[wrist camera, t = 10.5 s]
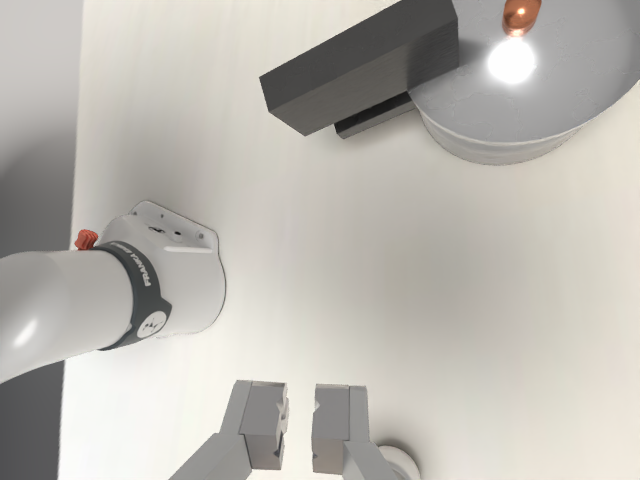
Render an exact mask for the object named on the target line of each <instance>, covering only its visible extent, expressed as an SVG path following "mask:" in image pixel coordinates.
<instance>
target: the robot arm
mask: <svg viewBox="0 0 640 480" xmlns="http://www.w3.org/2000/svg"><path fill="white" fill-rule="evenodd" d="M202 234H203V238H202ZM97 238H98V235H97V234H96V233H95V232H93V231H90V230H85V229H84V230H81V231H80V232H79V234H78V239H77V240H76V241H75V246H76V247H78V250H77V251H28V252H21V253H16V254H13V255H9V256H7V257H4V258H1V259H0V384H1V383H3V382H5V381H7V380H9V379H11V378H14V377H16V376H18V375H21V374H23V373H26V372H28V371H31V370H33V369H36V368H39V367H41V366H44V365H48V364H51V363H54V362H57V361H61V360H64V359H68V358H71V357H74V356H77V355H81V354H84V353H87V352H91V351H94V350H100V351H106V350H111V349H115V348H118V347H122V346H126V345H130V344H133V343H136V342H138V341H141V340H143V339H146V338H153V337H156V338H165V337H168V336H171V335H174V334H194V333H198V332H201V331H203V330H204V329H206V328H207V327H209V326H210V325H211V324H212V323H213V322H214V320H215V319H216V318H217V316H218V314H219V313H220V310H221V308H222V305H223V302H224V297H225V277H224V272H223V269H222V266H221V263H220V260H219V256H218V238H217V235H216V233H215V232H214V231H212V230H210V229H208V228H205V227H203V226H201V225H199V224H197V223H195V222H193V221H191V220H188V219H186V218H184V217H182V216H180V215H178V214H176V213H174V212H171V211H169V210H167V209H165V208H163V207H161V206H159V205H157V204H154V203H152V202H150V201H142V202H140V203H139V204H137V205H136V206H135V207H134V208H133V209H132V210H131V211H130V212H129V214H128V215H122V216H119V217H117V218H115V219H114V220H112V221H111V222H110V223H109V225H108V226H107V227H106V228H105V230H104V231H103V233H102V235H101V237H100V239H99V241H98V243H97V245H96V246H95V247H93V245H94V243H95V241H96V240H97ZM286 396H287V383H280V382H264V381H250V380H237V381H236V383H235V384H234V386H233V390H232V393H231V396H230V399H229V403H228V406H227V409H226V413H225V416H224V419H223V422H222V426H221V429H220V432H219V433H214V434H213V435H212V436H211V437H210V438H209V439H208V440H207V441H206V442H205V443H204V444H203V445H202V446H201V447H200V448H199V449H198V450H197V451H196V452H195V453H194V454H193V455H192V456H191V457H190V458H189V459H188V460H187V461H186V462H185V463H184V464H183V465H182V466H181V467H180V468H179V469H178V470H177V471H176V472H175V474H174V475H173V476H172V477H171V478H170V479H169V480H246V479H247V477H248V476H249V475H250V473H251V472H252V469H263V470H281V466H282V460H283V453H284V437H283V435H284V434H285V433H286V431H287V426H288V416H289V400H288V398H287V397H286ZM311 440H312V452H313V459H312V462H313V472H316V473H326V474H337V475H342V477H343V479H344V480H398V478H397V476H396V475H395V473H394V472H393V470H392V469H391V467H390V466H389V464H388V462H387V461H386V459H385V458H384V456H383V455H382V453H381V452H380V450H379V448H378V447H377V445H376V444H375V443H374V442H370V440H369V419H368V398H367V388H366V386H349V385H335V384H316V390H315V412H314V413H313V424H312V436H311Z"/></svg>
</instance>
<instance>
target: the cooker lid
mask: <svg viewBox="0 0 640 480" xmlns="http://www.w3.org/2000/svg"><path fill="white" fill-rule="evenodd" d="M259 79H260V82H261V86H262V89H263V93H264V97H265V100H266V104H267V107H268V111H269V112H270V113H271V114H273V115H274V116H276V117H277V118H279V119H280V120H282V121H283V122H284V123H286V124H287V125H289V126H290V127H292V128H293V129H295V130H296V131H298V132H299V133H301V134H302V135H304V136H307V135H309V134H311V133H314V132H316V131H318V130H320V129H323V128H325V127H327V126H329V125H332V124H334V123H336V122H338V121H340V120H343V119H345V118H347V117H349V116H352V115H354V114H356V113H358V112H360V111H363V110H365V109H367V108H369V107H372V106H374V105H376V104H378V103H381V102H383V101H385V100H387V99H389V98H392V97H394V96H396V95H398V94H401V93H403V92H405V91H407V92H408V94H409V96H410V97H411V99H412V101H413V102H414V104H415V105H416V107H417V108H418V109H419V110H420V111H421V113H422V114H423V115H424V116H425V117H426V118H427V119H429V120H430V121H431V122H432V123H433V124H434V125H436V126H437V127H439V128H440V129H442V130H443V131H445V132H447V133H449V134H451V135H453V136H455V137H457V138H460V139H463V140H466V141H469V142H473V143H478V144H484V145H491V146H518V145H526V144H532V143H538V142H542V141H545V140H549V139H552V138H556V137H558V136H561V135H563V134H566V133H568V132H571V131H573V130H575V129H577V128H579V127H581V126H583V125H584V124H586V123H588V122H590V121H592V120H593V119H595V118H596V117H598V116H599V115H600V114H602V113H603V112H605V111H606V110H608V109H609V108H610V107H611V106H612V105H613V104H615V103H616V102H617V101H618V100H619V99H620V98H621V97H622V96H624V95H625V94H626V93H627V92H628V91H629V90H630V89H631V88H632V87H633V86H634V85H635V83H636V82H637V81H638V80H639V79H640V0H401V1H399V2H397V3H395V4H393V5H392V6H390V7H388V8H386V9H384V10H382V11H381V12H379V13H377V14H375V15H373V16H371V17H369V18H368V19H366V20H364V21H362V22H360V23H358V24H357V25H355V26H353V27H351V28H349V29H347V30H345V31H344V32H342V33H340V34H338V35H336V36H334V37H332V38H331V39H329V40H327V41H325V42H323V43H321V44H320V45H318V46H316V47H314V48H312V49H310V50H308V51H307V52H305V53H303V54H301V55H299V56H297V57H296V58H294V59H292V60H290V61H288V62H286V63H284V64H283V65H281V66H279V67H277V68H275V69H273V70H271V71H270V72H268V73H266V74H264V75H262V76H260V77H259Z"/></svg>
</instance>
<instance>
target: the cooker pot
mask: <svg viewBox="0 0 640 480" xmlns="http://www.w3.org/2000/svg"><path fill="white" fill-rule="evenodd" d="M414 108H417V107H416V105H415V104H414V102H413V101H412V99H411V97H410V96H409V94H408V92H407V91H405V92H403V93H401V94H398V95H396V96H394V97H392V98H389V99H387V100H385V101H383V102H381V103H378V104H376V105H374V106H372V107H369V108H367V109H365V110H363V111H360V112H358V113H356V114H354V115H352V116H349V117H347V118H345V119H343V120H340V121H338V122H336V123H334V126H335V129H336V132H337V134H338V135H339V136H340V137H341V138H342V139H345V138H347V137H350V136H352V135H354V134H357V133H359V132H361V131H363V130H366V129H368V128H370V127H373V126H375V125H377V124H380V123H382V122H384V121H387V120H389V119H391V118H393V117H396V116H398V115H400V114H403V113H405V112H407V111H410V110H412V109H414ZM419 112H420V115H421V117H422V120H423V122H424V124H425V126H426V128H427V130H428V131H429V133H430V134H431V136H432V137H433V138H434V139H435V140H436V142H437V143H439V144H440V145H441V146H442V147H443V148H444V149H446V150H447V151H449V152H450V153H452V154H453V155H455V156H457V157H460V158H462V159H464V160H467V161H470V162H474V163H479V164H484V165H509V164H516V163H521V162H525V161H528V160H532V159H534V158H537V157H539V156H542V155H544V154H546V153H548V152H550V151H552V150H554V149H555V148H557V147H559V146H560V145H561V144H563V143H564V142H566V141H567V140H568V139H569V138H571V137H572V136H573V135H574V134H575V133H576V132H577V131H578V130H579V129H580V128H581V127H582V126H581V127H579V128H577V129H575V130H573V131H571V132H568V133H566V134H563V135H561V136H558V137H556V138H552V139H549V140H545V141H542V142H538V143H532V144H526V145H518V146H491V145H484V144H478V143H473V142H469V141H466V140H463V139H460V138H457V137H455V136H453V135H451V134H449V133H447V132H445V131H443V130H442V129H440V128H439V127H437V126H436V125H434V124H433V123H432V122H431V121H430V120H429V119H427V118H426V117H425V116H424V115H423V114H422V113H421V111H420V110H419Z"/></svg>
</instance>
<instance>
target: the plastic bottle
mask: <svg viewBox="0 0 640 480" xmlns="http://www.w3.org/2000/svg"><path fill="white" fill-rule="evenodd" d="M378 448H379V450H380V452H381V453H382V455H383V456H384V458H385V459H386V461H387V462H388V464H389V466H390V467H391V469H392V470H393V472H394V473H395V475H396V476H397V478H398V480H420V473H419V470H418V468H417V466H416V464H415V462H414V461H413V460H412V458H411V457H410V456H409V455H408V454H407V453H405V452H404V451H402V450H400V449H399V448H396V447H393V446H387V445H386V446H379V447H378Z"/></svg>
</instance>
